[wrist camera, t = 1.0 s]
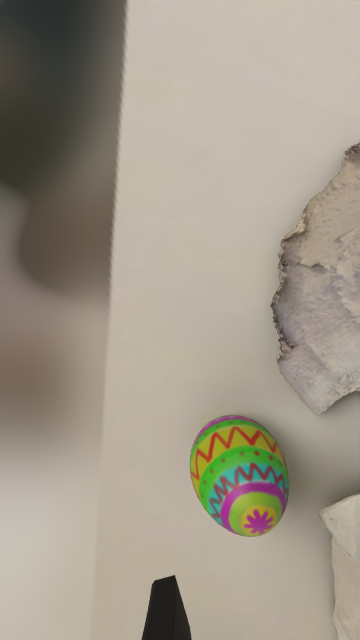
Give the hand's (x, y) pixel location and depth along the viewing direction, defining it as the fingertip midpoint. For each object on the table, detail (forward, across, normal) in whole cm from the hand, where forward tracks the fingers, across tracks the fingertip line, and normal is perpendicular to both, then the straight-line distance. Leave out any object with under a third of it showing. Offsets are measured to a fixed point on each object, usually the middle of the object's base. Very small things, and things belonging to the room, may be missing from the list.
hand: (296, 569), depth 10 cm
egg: (+10, 0, +2) cm, 10 cm away
